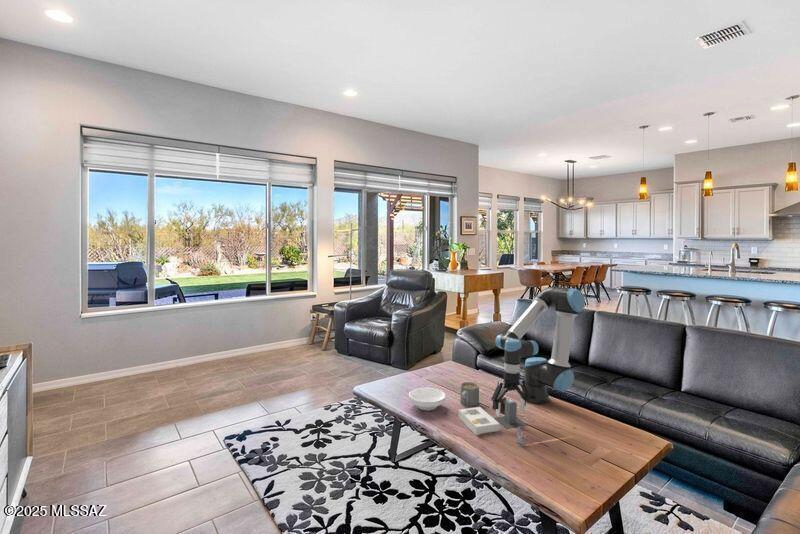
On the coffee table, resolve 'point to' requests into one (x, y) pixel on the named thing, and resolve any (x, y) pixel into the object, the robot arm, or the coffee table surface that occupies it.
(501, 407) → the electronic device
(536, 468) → the coffee table surface
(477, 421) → the socket block
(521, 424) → the mat
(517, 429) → the architectural model
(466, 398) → the coffee mug
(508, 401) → the plug
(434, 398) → the bowl
